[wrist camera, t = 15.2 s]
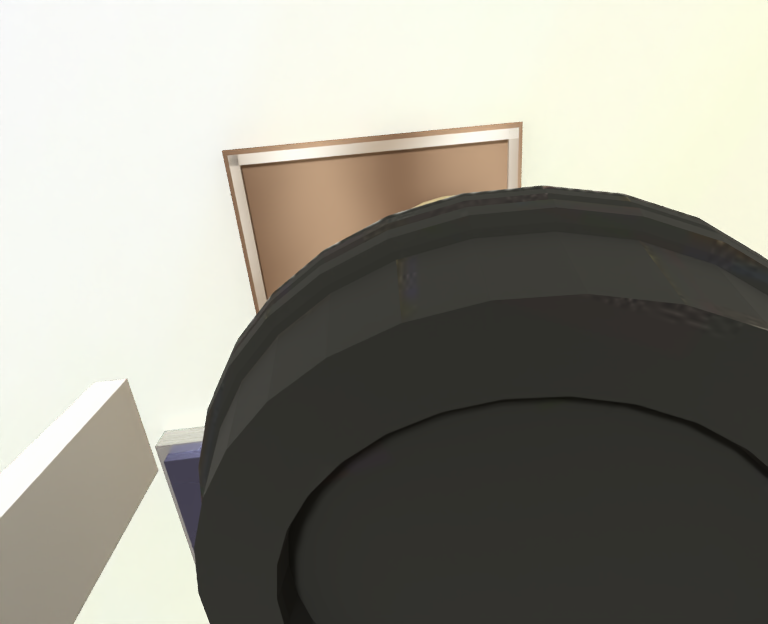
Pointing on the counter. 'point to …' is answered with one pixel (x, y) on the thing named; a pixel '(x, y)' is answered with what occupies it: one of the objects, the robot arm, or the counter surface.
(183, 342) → the counter surface
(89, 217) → the counter surface
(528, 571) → the coffee cup
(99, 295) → the counter surface
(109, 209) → the counter surface
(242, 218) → the board
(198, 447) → the ink pad
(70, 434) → the robot arm
